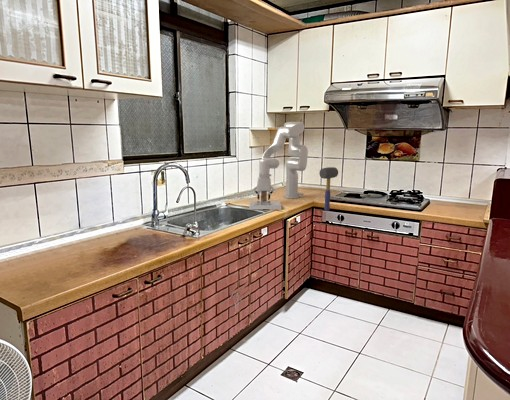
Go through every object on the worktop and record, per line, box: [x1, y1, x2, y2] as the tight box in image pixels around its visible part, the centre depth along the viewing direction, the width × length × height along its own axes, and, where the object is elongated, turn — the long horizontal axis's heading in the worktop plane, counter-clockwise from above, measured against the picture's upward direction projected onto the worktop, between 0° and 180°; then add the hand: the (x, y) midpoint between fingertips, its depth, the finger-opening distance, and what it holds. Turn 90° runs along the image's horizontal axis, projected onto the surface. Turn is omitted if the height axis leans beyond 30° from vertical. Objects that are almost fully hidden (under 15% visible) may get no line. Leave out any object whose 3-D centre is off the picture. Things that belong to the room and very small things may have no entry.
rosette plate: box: [248, 200, 282, 211], centre depth 255 cm, size 22×14×3 cm, turn 92°
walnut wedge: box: [260, 191, 268, 201], centre depth 268 cm, size 4×4×9 cm
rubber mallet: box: [318, 166, 339, 212], centre depth 244 cm, size 12×8×30 cm, turn 129°
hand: (263, 199), depth 268 cm, fingers open, 6 cm apart
